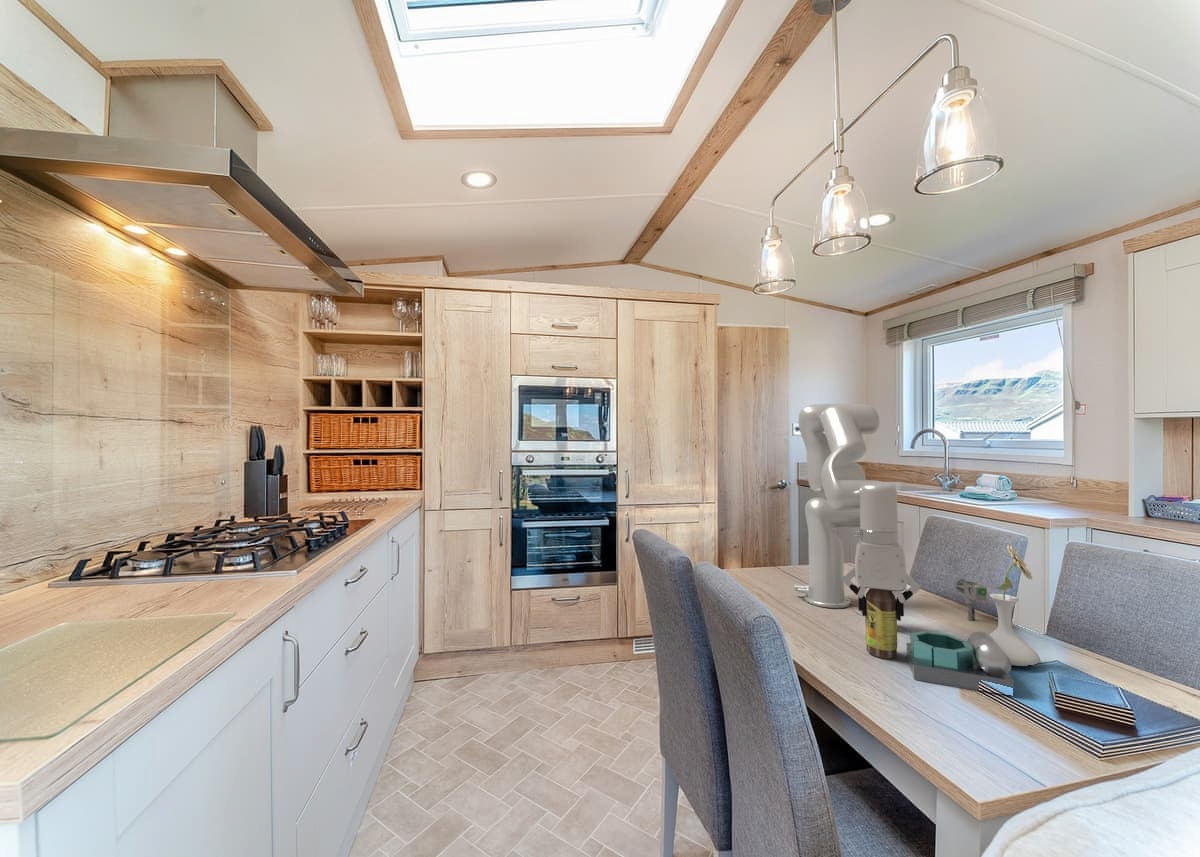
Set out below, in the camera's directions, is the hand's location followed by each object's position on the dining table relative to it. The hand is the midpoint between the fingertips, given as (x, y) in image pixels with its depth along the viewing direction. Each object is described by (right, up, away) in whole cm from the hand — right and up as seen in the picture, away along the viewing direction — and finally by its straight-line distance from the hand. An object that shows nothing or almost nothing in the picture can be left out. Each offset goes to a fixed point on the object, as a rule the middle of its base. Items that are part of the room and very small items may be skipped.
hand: (880, 615), depth 112 cm
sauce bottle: (0, -9, 0) cm, 9 cm away
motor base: (+10, -8, -10) cm, 16 cm away
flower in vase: (+26, -9, -3) cm, 28 cm away
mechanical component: (+37, -9, +21) cm, 43 cm away
